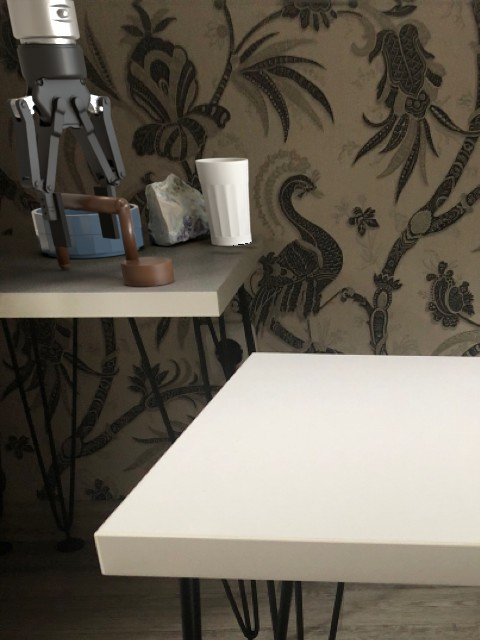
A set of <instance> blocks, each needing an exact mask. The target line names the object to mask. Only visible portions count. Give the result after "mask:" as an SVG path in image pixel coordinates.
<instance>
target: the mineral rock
mask: <svg viewBox="0 0 480 640" xmlns="http://www.w3.org/2000/svg"><path fill="white" fill-rule="evenodd" d="M144 191H145V193H144V194H145V198H146V203H147V204H146V210H147V211H148V216H149V222H148V224H147V227H146V229H147V231H148V238H149V239H148V242H149V243H150V244H156V245H158V246H165V247H166V246H167V247H168V246H172V245H175V244H178V243H180V242H186V241H188V240H190V239H196V237H198V236H200V235H201V236H202V235H205V234H206V233H207V232H208V231H210V227H209V223H208V218H207V213H206V208H205V203H204V198H203V193H201V192H200V191H199V190H198V189H196V188H194V187H191V186H190V184H188V183H186V182H185V181H184V180H183V179H182V178H181V177H179V176H177V175H176V174H174V173H171V172H170V174H169V175H167V177H166V178H165V179H164V180H162V181H157V182H156V181H155V182H153V183H150V184H147V185H146V186H145V189H144Z"/></svg>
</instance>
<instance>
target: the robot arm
mask: <svg viewBox="0 0 480 640" xmlns="http://www.w3.org/2000/svg"><path fill="white" fill-rule="evenodd" d="M6 4H7V9H8V14H9V19H10V25H11V29H12V30H11V31H12V35H13V37H14V38H15V39H16V40H19V42H20V44H18V45H17V48H16V52H17V57H18V62H19V66H20V71H21V75H22V77H23V78H24V80H25V82H26V92H25V96H21V97H19V98H8V99H7V100H6V107H7V109H8V111H9V114H10V116H11V119H12V122H13V124H12V125H13V131H14V132H13V133H14V139H15V140H14V141H15V148H16V156H17V165H18V174H19V183H20V186H21V187H22V188H23V189H28V190H31V191H32V192H34V193H37V196H38V201H39V205H40V208H41V210H42V215H43V217H44V219H45V220H48V221H49V225H50V230H51V235H52V239H53V244H54V246H57V247H65V248H69V247H72V244H71V239H70V234H69V230H68V225H67V220H66V215H65V210H64V205H63V200H62V195H61V193H62V192H57V191H55V187H56V177H57V166H58V155H59V145H60V138H61V137H62V135H63V130H66V129H68V130H69V132H70V133H71V134H72V135H73V136H74V137H75V139H76V141H77V143H78V145H79V147H80V149H81V151H82V153H83V156H84V157H85V159H86V161H87V163H88V165H89V167H90V170H91V171H92V173H93V174H92V175H94V178H95V180H96V182H97V184H98V185H93V187H92V189H93V195H94V196H106V197H118V196H117V192H116V191H117V190H116V187H119V186H120V185H121V180H125V179H126V177H127V173H126V169H125V165H124V162H123V158H122V154H121V150H120V147H119V143H118V139H117V136H116V132H115V128H114V124H113V119H112V115H111V113H112V112H111V111H112V110H111V106H112V105H111V99H110V98H109V96H105V95H103V96H102V95H100V96H99V95H94V94H91V91H89V88H88V87H87V85H86V78H87V76H88V72H87V67H86V66H87V65H86V60H85V56H84V52H83V51H84V50H83V47H81V45H80V44H77V41H76V40H79V39H80V37H81V35H80V28H79V24H78V23H79V22H78V16H77V12H76V7H75V2H74V0H6ZM88 112H89V113H90V116H89V114H88ZM35 113H36V115H37V117H36V119H37V120H36V126H35V119H34V117H33V116H34V115H35ZM36 133H37V134H38V136H37V134H36ZM56 192H57V193H56ZM98 215H99V220H100V226H101V231H102V236H103V238H108V239H120V234H119V228H118V223H117V217H116V214H109V213H98Z"/></svg>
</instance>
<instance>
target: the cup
mask: <svg viewBox="0 0 480 640" xmlns="http://www.w3.org/2000/svg"><path fill="white" fill-rule="evenodd" d="M194 162H195V167H196V172H197V176H198V180H199V184H200V187H201V192H202V193H201V194H202V195H203V198H204V203H205V208H206V213H207V218H208V223H209V227H210V229H209V232H210V241H211V245H213V246H221V247H222V246H223V247H224V246H226V247H232V246H233V245H234V246H239V245H238V244H244V245H246V244H245V243H248V244H251V243H252V240H253V239H252V232H251V216H250V215H251V214H250V211H251V210H250V196H249V195H250V191H249V179H250V178H249V158H243V157H213V158H211V157H210V158H202V159H196V160H194ZM250 242H251V243H250ZM234 246H233V247H234Z"/></svg>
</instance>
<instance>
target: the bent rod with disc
mask: <svg viewBox="0 0 480 640" xmlns="http://www.w3.org/2000/svg"><path fill="white" fill-rule="evenodd" d="M55 192H56V193H58V192H57V191H55ZM60 193H61V195H62V200H63V205H64V209H67V210H77V211H88V212H98V213H109V214H118V218H119V223H120V229H121V235H122V240H123V246H124V252H125V254H124V256H125V257H124V258H125V259H124V260H121V261H120V263H119V264H120V265H119V266H120V270H121V276H122V282H123V284H124V285H125V286H129V287H138V288H142V287H143V288H145V287H146V288H149V287H158V286H164V285H169V284H172V283H173V282H175V274H174V268H173V261H172V258H169V257H165V256H141V257H139V252H138V250H137V246H136V240H135V234H134V229H133V223H132V217H131V211H130V206H129V204H130V203H129V202H128V200H127V199H125V198H124V197H119V196H117V197H106V196H95V194H93V195H91V194H80V193H67V192H60ZM54 247H55V251H56V256H57V257H56V260H57V265H58V267H59V268H60V269H61V270H63V271H68V270H69V269H70V268H71V258H69V254H68V249H67V248H65V247H57V246H54Z"/></svg>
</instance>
